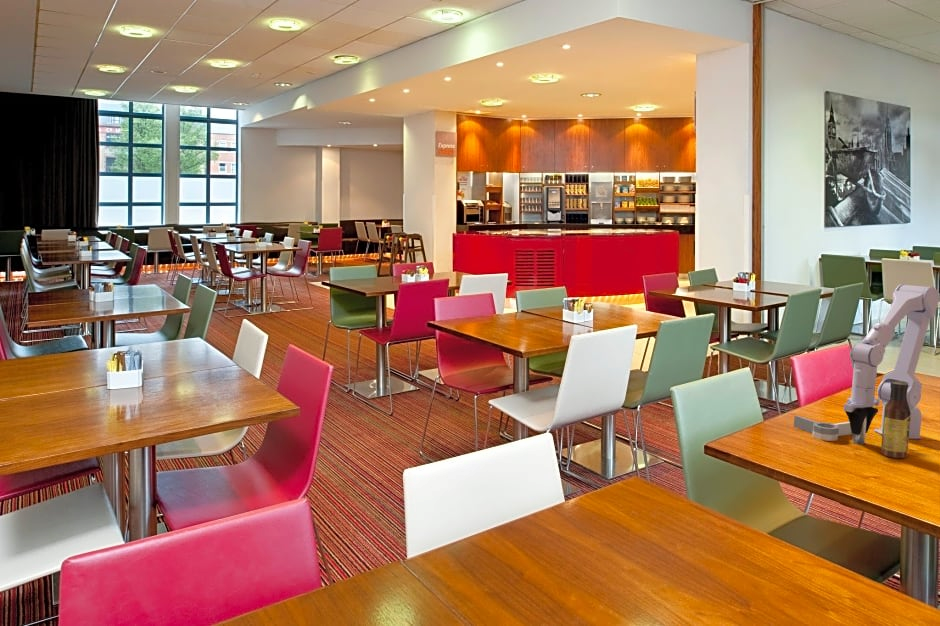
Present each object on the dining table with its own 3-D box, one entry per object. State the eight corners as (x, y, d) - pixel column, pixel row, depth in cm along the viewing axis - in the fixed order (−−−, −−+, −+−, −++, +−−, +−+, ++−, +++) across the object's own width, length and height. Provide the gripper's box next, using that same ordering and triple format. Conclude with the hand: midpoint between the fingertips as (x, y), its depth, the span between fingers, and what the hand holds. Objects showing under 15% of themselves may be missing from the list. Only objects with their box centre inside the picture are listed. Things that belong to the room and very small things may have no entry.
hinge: (826, 441, 205) (827, 429, 205) (786, 427, 218) (787, 416, 218) (862, 436, 211) (863, 424, 210) (821, 423, 224) (822, 412, 223)
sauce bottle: (911, 460, 191) (918, 386, 188) (885, 458, 192) (892, 385, 189) (901, 452, 197) (908, 380, 194) (876, 450, 198) (883, 379, 195)
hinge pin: (860, 441, 206) (863, 413, 205) (866, 444, 203) (869, 416, 202) (850, 441, 206) (852, 413, 205) (856, 444, 203) (858, 416, 202)
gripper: (863, 380, 210) (859, 425, 212) (835, 386, 202) (831, 433, 204) (888, 385, 204) (884, 432, 206) (859, 391, 196) (855, 440, 198)
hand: (859, 433), depth 204 cm, fingers closed on hinge pin, 3 cm apart
